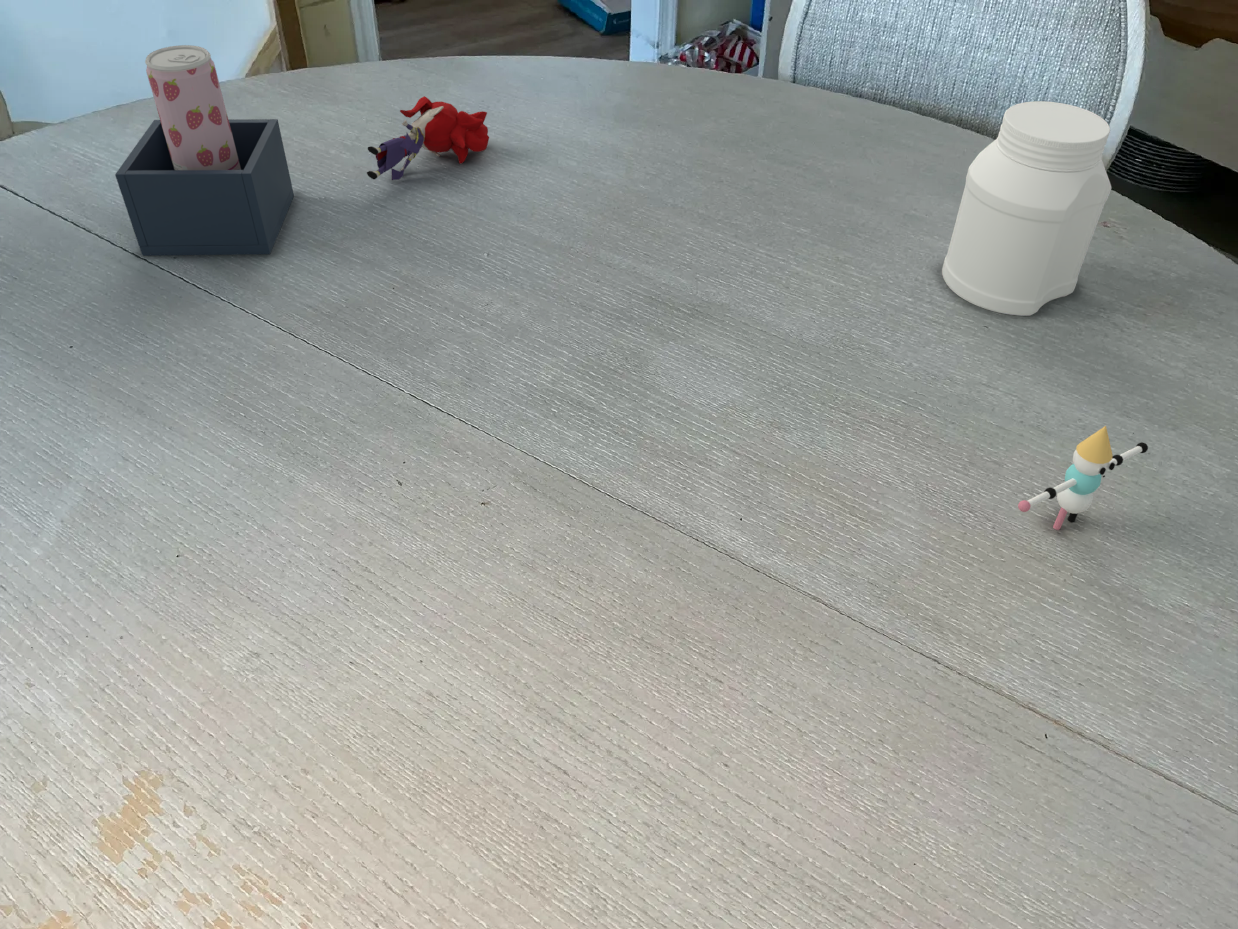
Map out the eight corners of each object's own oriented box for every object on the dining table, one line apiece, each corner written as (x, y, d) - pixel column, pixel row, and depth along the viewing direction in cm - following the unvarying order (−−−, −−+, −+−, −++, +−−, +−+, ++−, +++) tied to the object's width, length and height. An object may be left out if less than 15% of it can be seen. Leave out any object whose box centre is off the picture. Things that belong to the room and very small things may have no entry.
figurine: (347, 176, 104) (438, 127, 113) (411, 213, 102) (499, 160, 112) (347, 120, 99) (443, 73, 109) (415, 157, 97) (506, 107, 107)
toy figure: (1017, 569, 65) (1058, 469, 60) (988, 545, 67) (1025, 445, 61) (1139, 505, 70) (1187, 406, 64) (1109, 483, 72) (1154, 386, 66)
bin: (142, 256, 93) (114, 174, 87) (177, 196, 101) (154, 119, 96) (270, 254, 93) (250, 173, 88) (294, 196, 102) (277, 118, 97)
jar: (1012, 326, 86) (1066, 160, 76) (923, 278, 92) (964, 118, 82) (1089, 284, 92) (1150, 123, 82) (1001, 241, 97) (1048, 86, 87)
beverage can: (252, 225, 95) (211, 64, 85) (188, 232, 94) (140, 70, 84) (250, 197, 99) (212, 41, 89) (189, 204, 98) (144, 46, 88)
